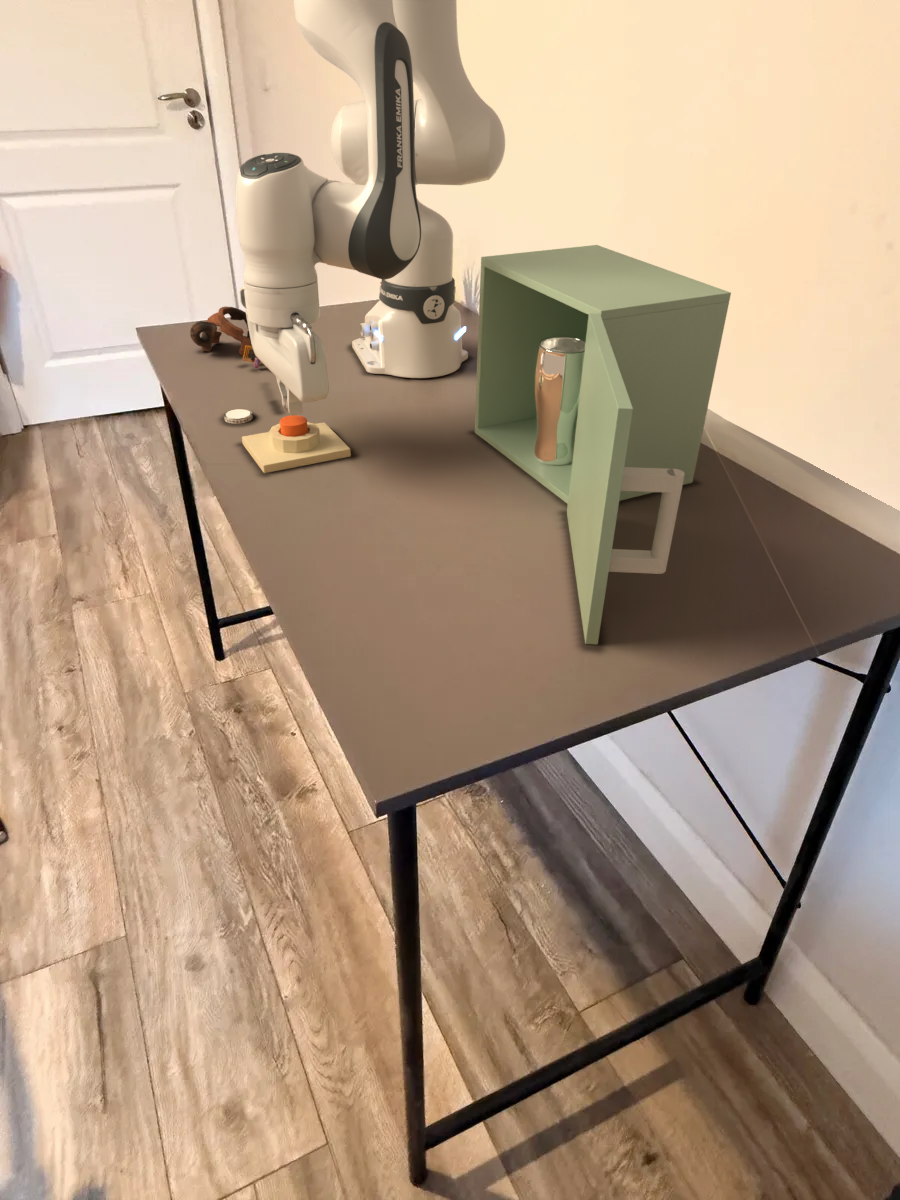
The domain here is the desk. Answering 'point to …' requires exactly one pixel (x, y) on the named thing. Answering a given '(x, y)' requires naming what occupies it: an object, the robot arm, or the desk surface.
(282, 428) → the button
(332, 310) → the desk surface
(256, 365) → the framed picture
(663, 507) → the green cabinet door
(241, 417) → the washi tape
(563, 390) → the beer glass
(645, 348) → the green cabinet
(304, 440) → the control box
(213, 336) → the brown curved piece
